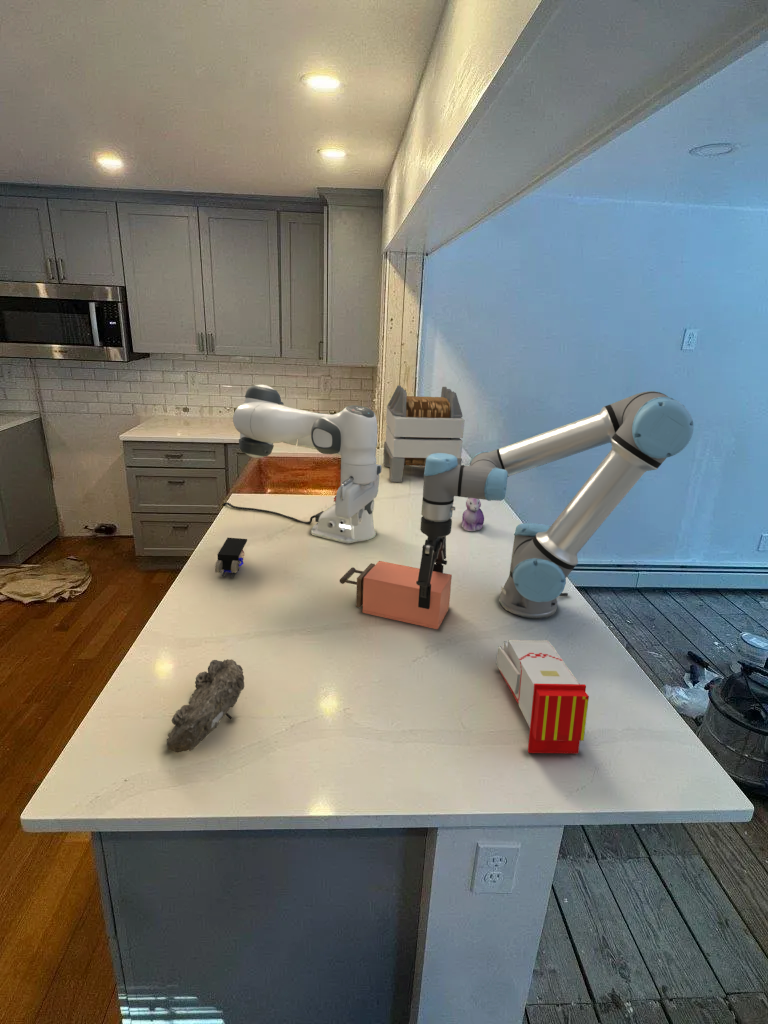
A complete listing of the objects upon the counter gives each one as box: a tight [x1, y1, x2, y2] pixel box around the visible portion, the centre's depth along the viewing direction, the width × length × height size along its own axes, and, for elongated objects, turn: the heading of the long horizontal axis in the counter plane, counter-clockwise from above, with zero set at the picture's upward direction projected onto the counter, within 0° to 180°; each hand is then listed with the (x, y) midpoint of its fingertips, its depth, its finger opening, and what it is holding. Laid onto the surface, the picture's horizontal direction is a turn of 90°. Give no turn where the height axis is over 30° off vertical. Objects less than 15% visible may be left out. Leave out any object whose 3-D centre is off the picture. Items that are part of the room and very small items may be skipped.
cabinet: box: [362, 560, 453, 630], centre depth 147 cm, size 20×11×10 cm, turn 70°
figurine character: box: [214, 537, 248, 578], centre depth 166 cm, size 7×8×15 cm
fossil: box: [166, 658, 245, 754], centre depth 106 cm, size 22×10×15 cm
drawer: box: [339, 563, 376, 609], centre depth 149 cm, size 24×10×8 cm, turn 70°
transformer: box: [383, 384, 465, 483], centre depth 268 cm, size 34×33×41 cm
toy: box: [495, 639, 590, 754], centre depth 114 cm, size 12×13×30 cm
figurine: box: [461, 498, 485, 532], centre depth 206 cm, size 9×10×15 cm
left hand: (356, 523), depth 146 cm, fingers closed
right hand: (430, 597), depth 145 cm, fingers closed on cabinet, 11 cm apart
